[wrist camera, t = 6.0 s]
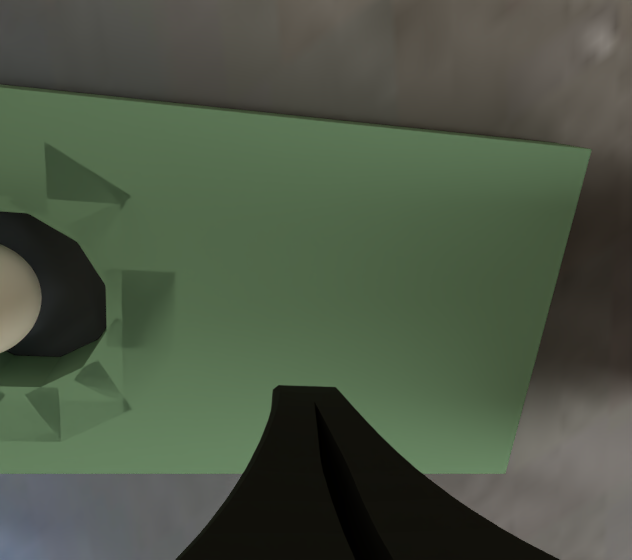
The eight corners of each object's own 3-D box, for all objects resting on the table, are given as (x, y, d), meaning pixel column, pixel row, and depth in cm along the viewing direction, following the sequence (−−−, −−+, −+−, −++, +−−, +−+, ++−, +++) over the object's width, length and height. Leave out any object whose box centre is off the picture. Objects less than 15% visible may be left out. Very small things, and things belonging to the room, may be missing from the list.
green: (555, 143, 18) (591, 149, 16) (482, 441, 22) (505, 473, 20) (-260, 56, 14) (-335, 52, 13) (-175, 434, 18) (-223, 473, 16)
